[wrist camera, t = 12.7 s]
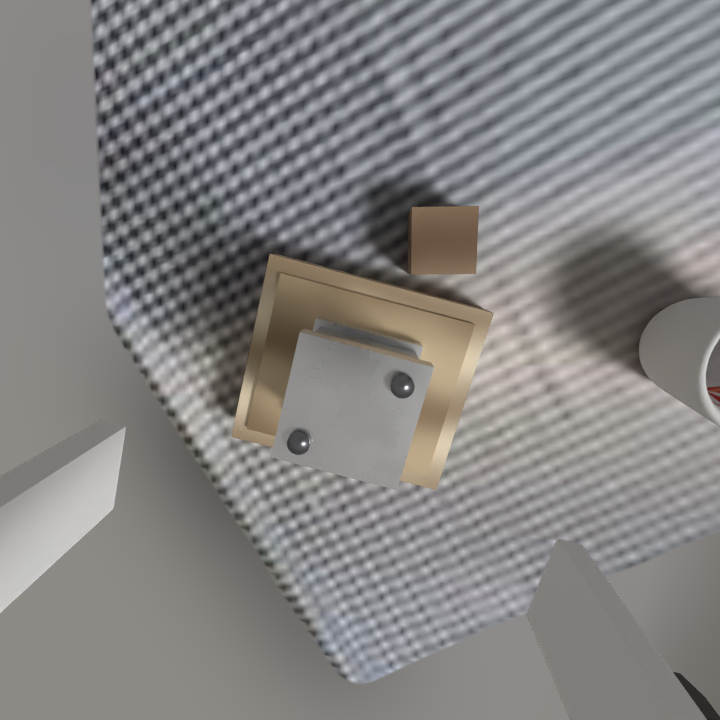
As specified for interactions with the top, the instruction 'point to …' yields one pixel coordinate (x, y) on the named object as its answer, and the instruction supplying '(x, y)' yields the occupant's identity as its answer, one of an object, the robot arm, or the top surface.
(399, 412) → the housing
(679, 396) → the cup
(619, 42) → the top surface
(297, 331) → the tan square tray
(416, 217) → the walnut block
